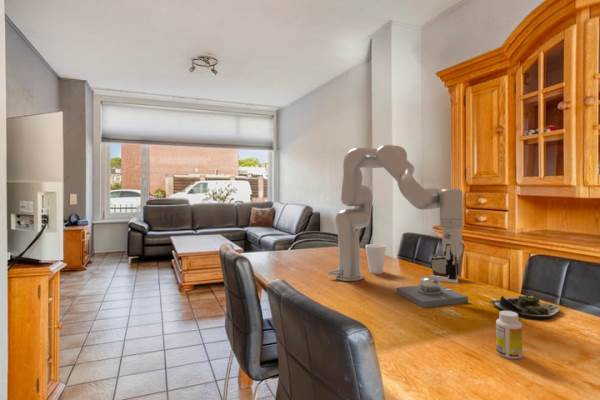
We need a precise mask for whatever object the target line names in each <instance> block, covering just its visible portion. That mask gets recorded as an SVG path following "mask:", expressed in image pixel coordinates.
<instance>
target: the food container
mask: <svg viewBox="0 0 600 400" xmlns="http://www.w3.org/2000/svg"><path fill="white" fill-rule="evenodd" d="M445 258H446V256H444V255H443V253H436V254H431V255H430V257H429V262H431V268H432V269H431V270H432V275H436V276H443V277H448V276H446V259H445ZM459 261H460V258H458V262H459Z"/></svg>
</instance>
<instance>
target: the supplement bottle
mask: <svg viewBox="0 0 600 400" xmlns="http://www.w3.org/2000/svg"><path fill="white" fill-rule="evenodd" d="M498 317H499V318H497V319H496V320H495V347H496V348H495V349H496V350H495V351H496V353H497V354H498V355H499V356H501V357H502V358H506V359H510V360H511V359H512V360H518V359H521V358H522V357H523V324H522V321H519V317H518V314H517V313H515V312H512V311H500V310H499V316H498Z"/></svg>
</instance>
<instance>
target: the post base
mask: <svg viewBox="0 0 600 400" xmlns="http://www.w3.org/2000/svg"><path fill="white" fill-rule="evenodd" d="M395 289H396V290H395V291H396V293H397V294H398V295H400V296H402V297H403V298H405V299H406V300H408V301H410V302H412V303H414V304H415V305H417V306H419V307H421V308H429V307H430V308H431V307H437V306H447V305H456V304H464V303H469V296H468V295H464V294H463V293H460V292H458V291H455V290H453V289H451V288H449V287H446V286H444V285H441V284H440V291H438V292H427V291H423V290H421V289H420V284H419V285H409V286H401V287H396V288H395Z"/></svg>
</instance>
